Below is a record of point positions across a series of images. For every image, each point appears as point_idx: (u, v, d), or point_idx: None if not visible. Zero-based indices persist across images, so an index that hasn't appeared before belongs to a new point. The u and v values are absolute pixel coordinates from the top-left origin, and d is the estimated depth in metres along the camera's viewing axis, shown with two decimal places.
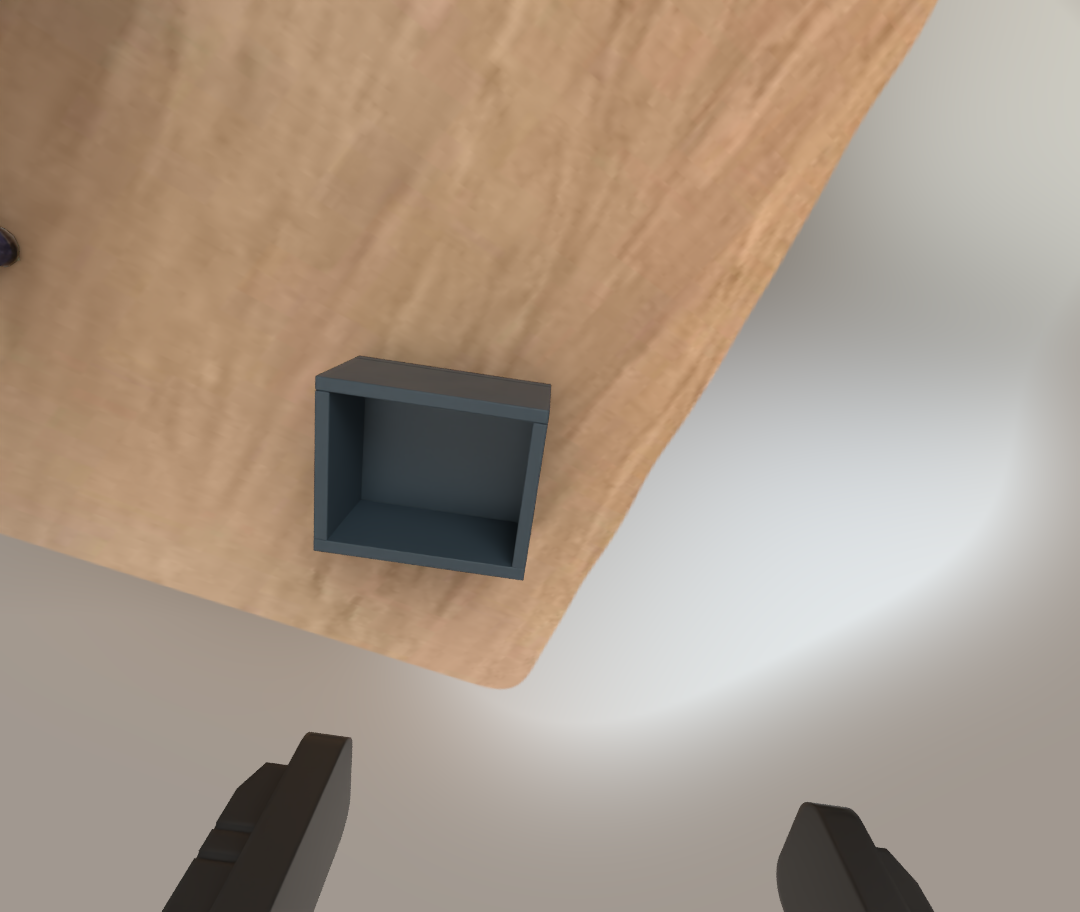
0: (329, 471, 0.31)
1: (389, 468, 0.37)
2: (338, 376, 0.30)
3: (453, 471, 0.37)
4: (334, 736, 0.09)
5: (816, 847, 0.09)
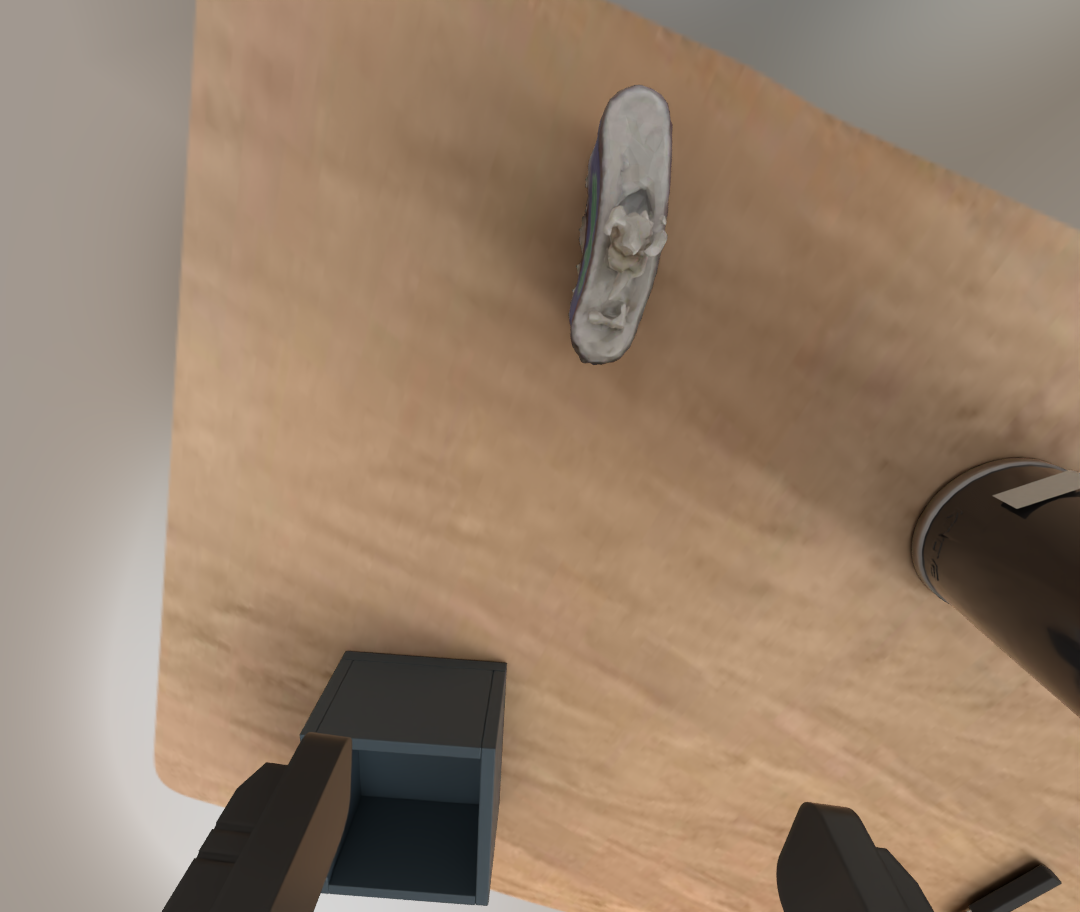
0: (395, 750, 0.30)
1: None
2: (496, 755, 0.30)
3: None
4: (334, 736, 0.09)
5: (816, 847, 0.09)
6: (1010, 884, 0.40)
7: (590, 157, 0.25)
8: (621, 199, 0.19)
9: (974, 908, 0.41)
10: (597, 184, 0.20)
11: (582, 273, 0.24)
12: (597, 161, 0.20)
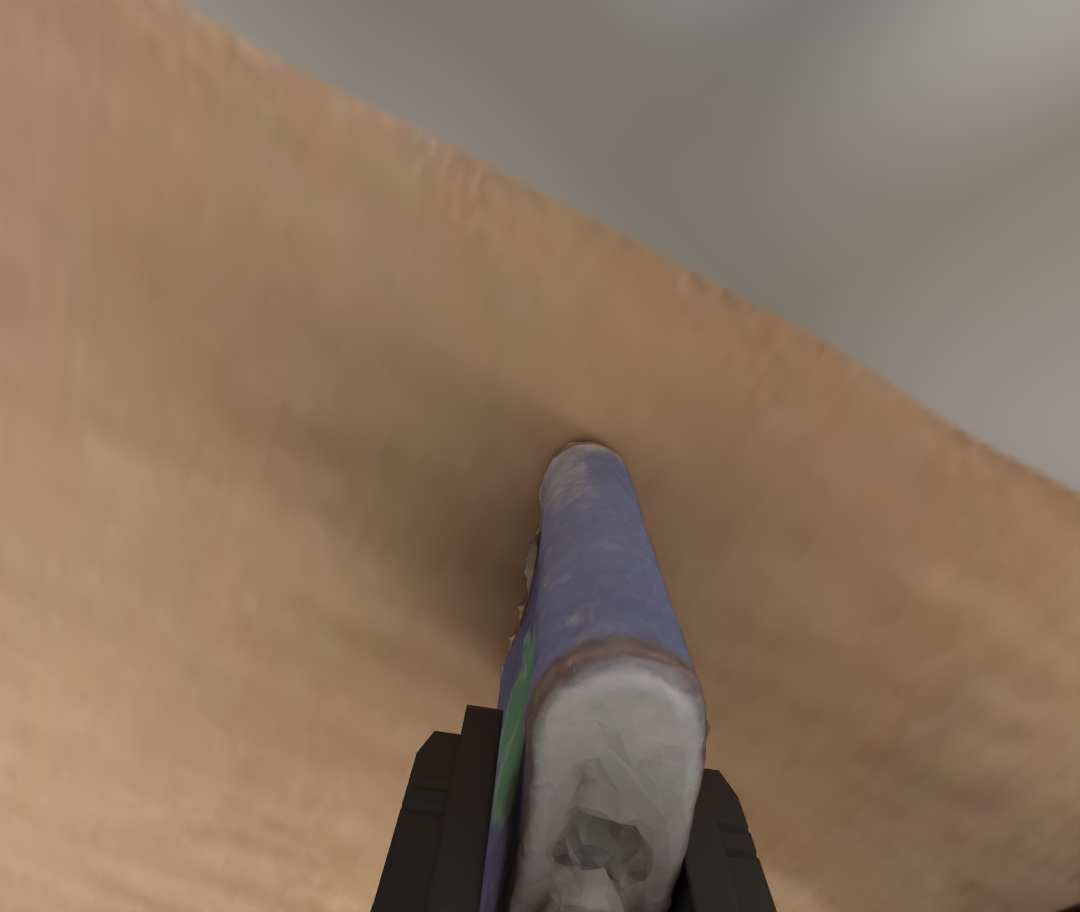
0: None
1: None
2: None
3: None
4: (490, 708, 0.10)
5: None
6: None
7: (547, 474, 0.14)
8: (575, 822, 0.08)
9: None
10: None
11: (513, 710, 0.13)
12: None
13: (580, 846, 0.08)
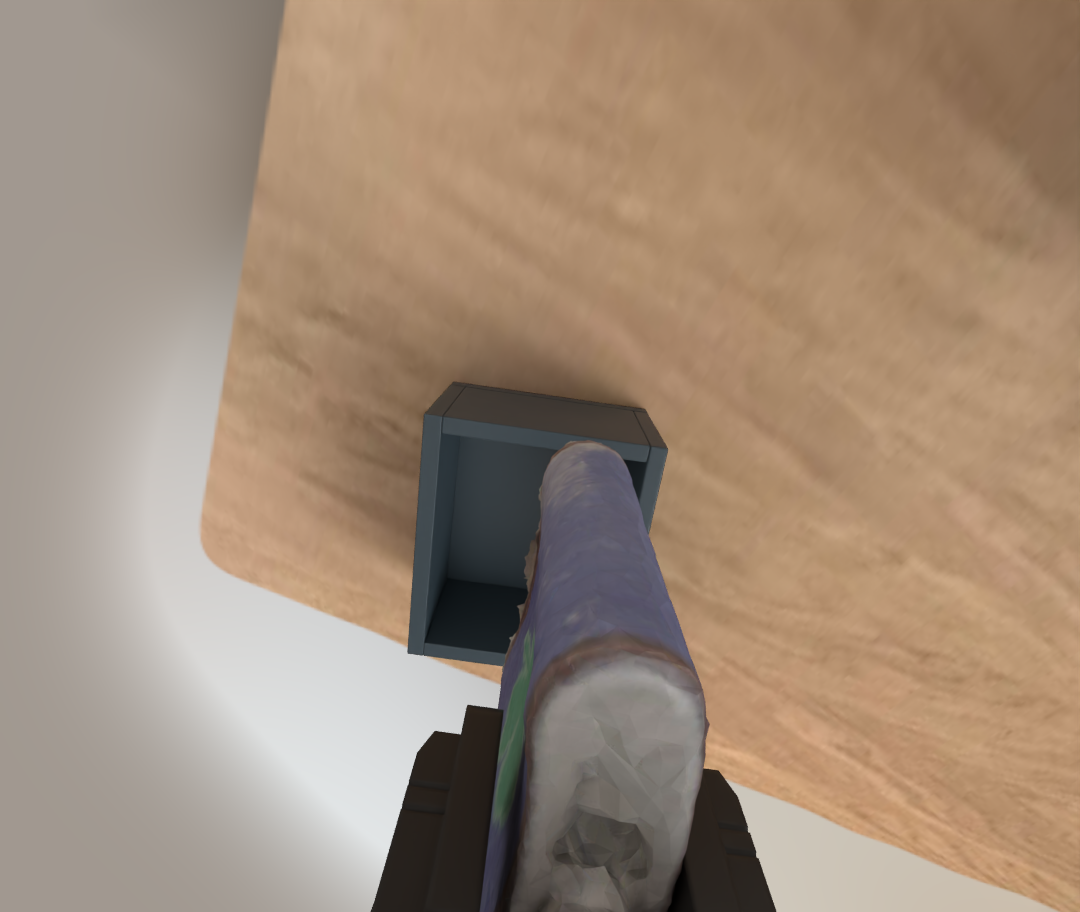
0: (540, 446, 0.24)
1: None
2: None
3: (507, 512, 0.31)
4: (490, 708, 0.10)
5: None
6: None
7: (546, 473, 0.14)
8: (575, 820, 0.08)
9: None
10: None
11: (513, 709, 0.13)
12: None
13: (580, 845, 0.08)
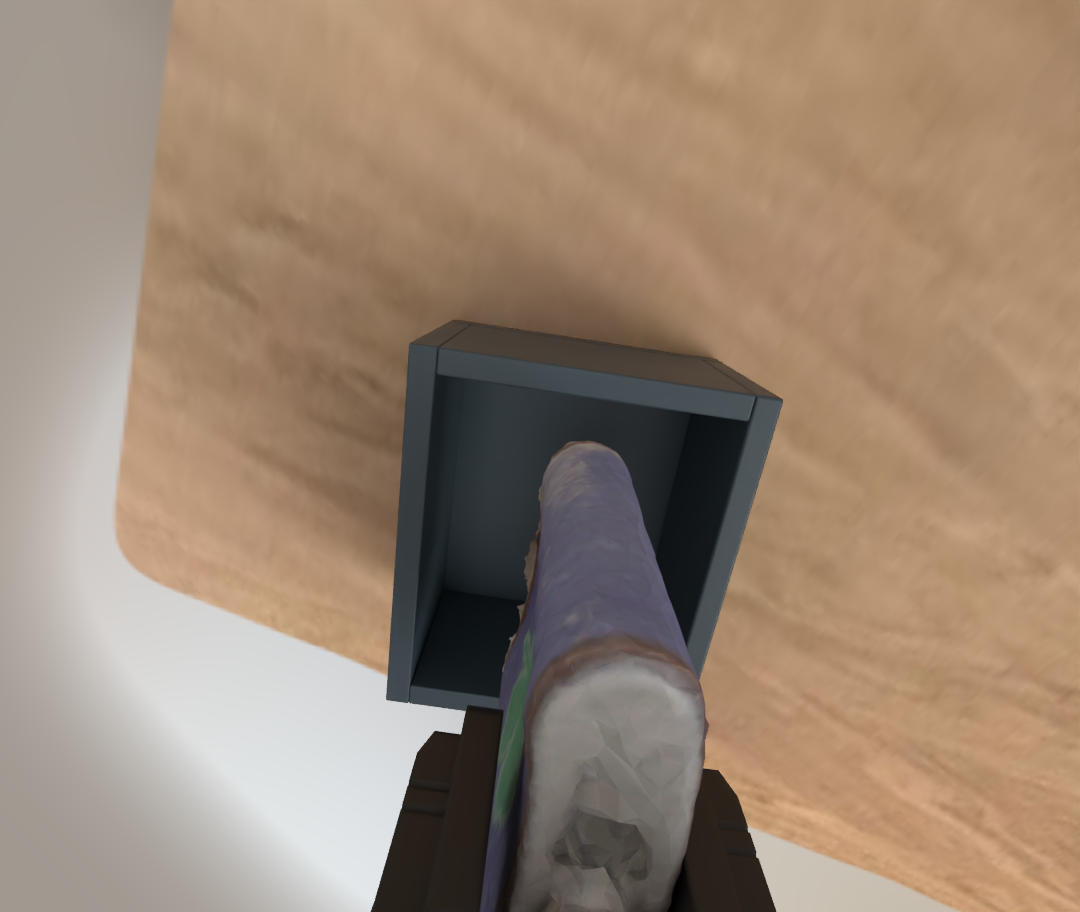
0: (587, 396, 0.16)
1: (528, 401, 0.22)
2: None
3: (526, 502, 0.23)
4: (491, 708, 0.10)
5: None
6: None
7: (546, 473, 0.14)
8: (574, 821, 0.08)
9: None
10: None
11: (513, 709, 0.13)
12: None
13: (579, 845, 0.08)
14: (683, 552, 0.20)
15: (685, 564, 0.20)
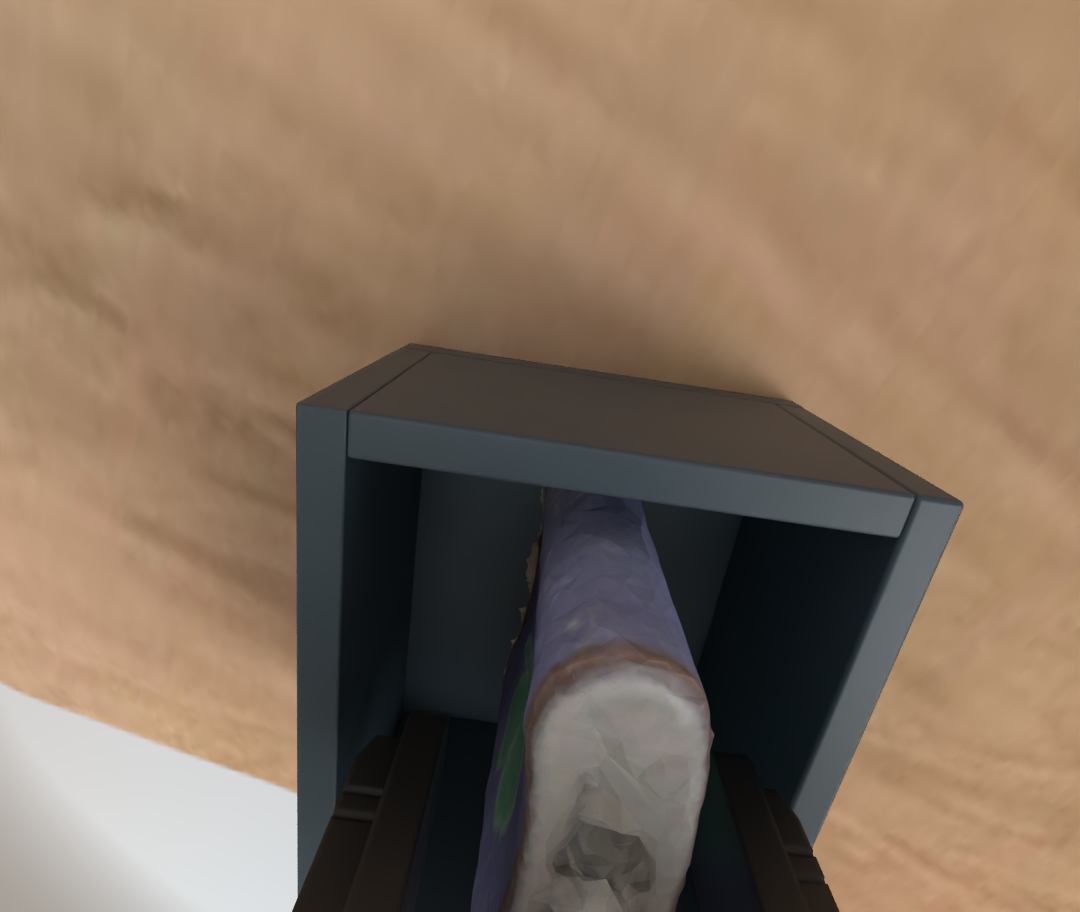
0: (615, 494, 0.09)
1: None
2: None
3: (515, 598, 0.16)
4: (436, 711, 0.10)
5: (711, 789, 0.10)
6: None
7: None
8: (576, 831, 0.08)
9: None
10: None
11: (514, 714, 0.13)
12: None
13: (581, 855, 0.08)
14: (750, 697, 0.13)
15: (756, 722, 0.13)
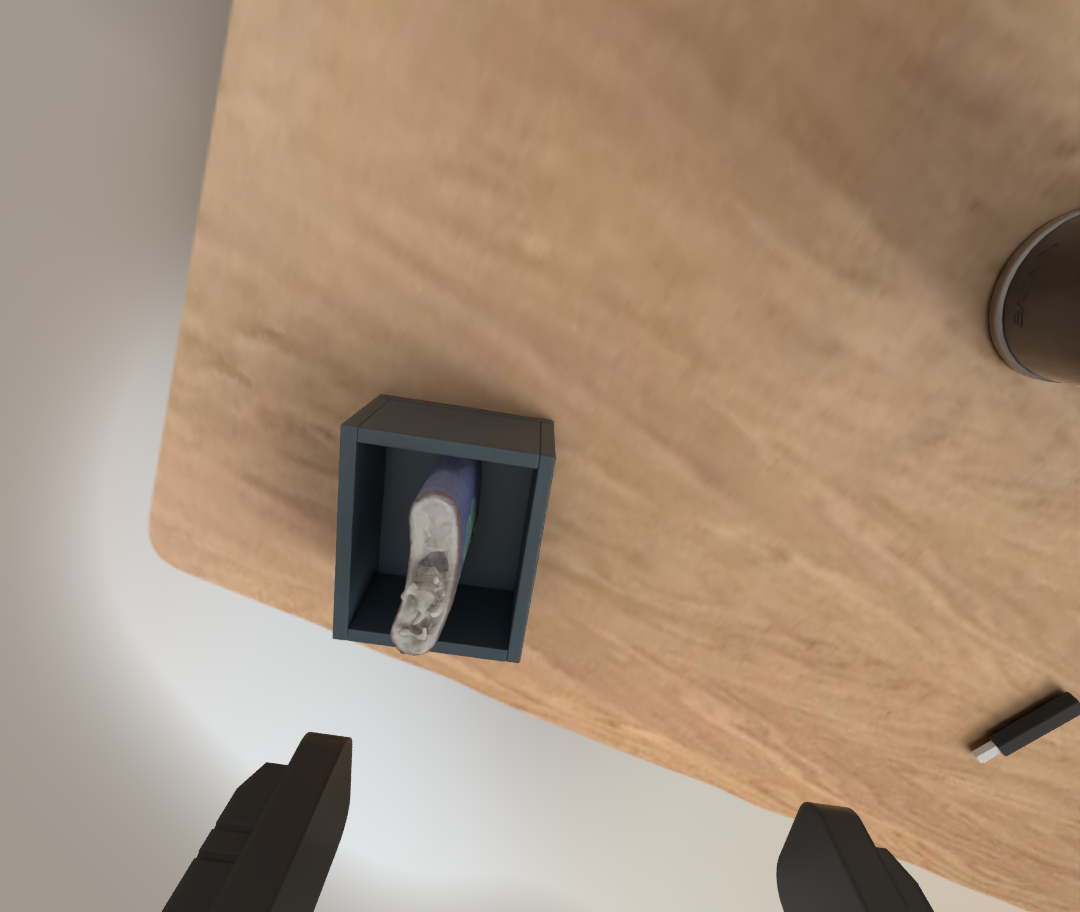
0: (445, 454, 0.27)
1: None
2: None
3: None
4: (334, 736, 0.09)
5: (816, 847, 0.09)
6: (1034, 712, 0.40)
7: None
8: (426, 554, 0.26)
9: (995, 738, 0.40)
10: None
11: None
12: None
13: (430, 565, 0.27)
14: None
15: (522, 553, 0.31)
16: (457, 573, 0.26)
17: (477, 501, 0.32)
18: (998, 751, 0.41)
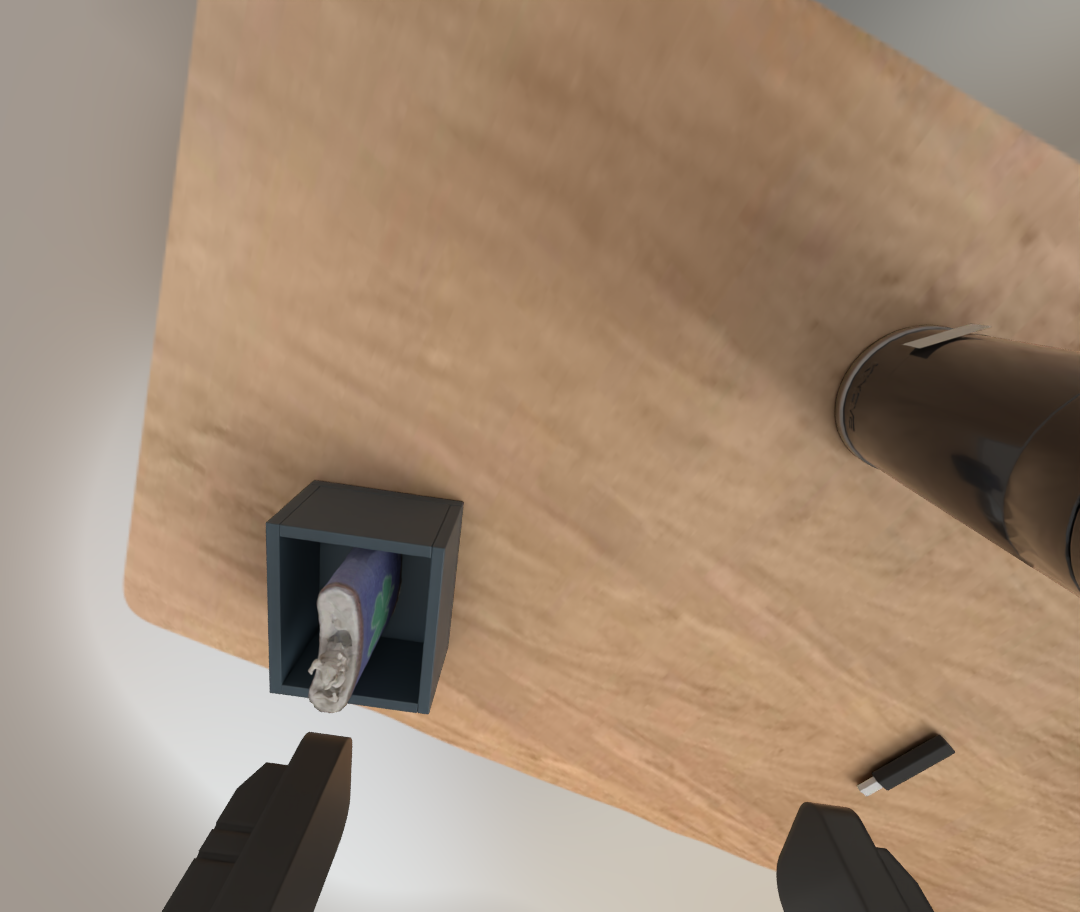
0: (353, 545, 0.33)
1: None
2: (445, 559, 0.33)
3: None
4: (334, 736, 0.09)
5: (816, 847, 0.09)
6: (910, 752, 0.44)
7: None
8: (335, 632, 0.32)
9: (876, 774, 0.45)
10: None
11: None
12: None
13: (339, 640, 0.32)
14: None
15: None
16: (360, 647, 0.32)
17: (395, 573, 0.38)
18: (880, 786, 0.45)
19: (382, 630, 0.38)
